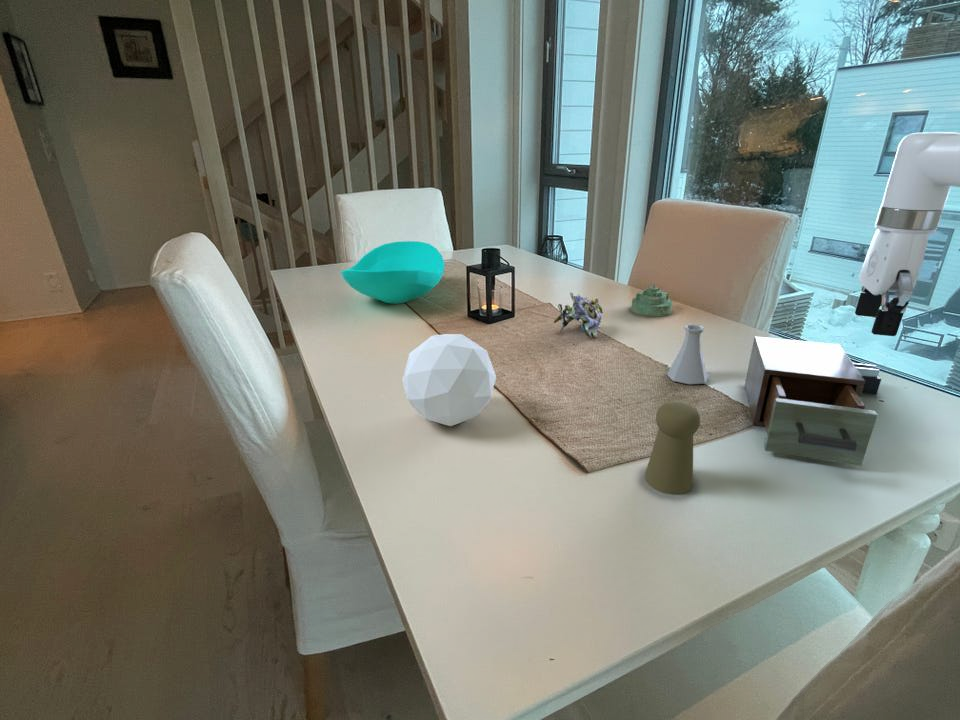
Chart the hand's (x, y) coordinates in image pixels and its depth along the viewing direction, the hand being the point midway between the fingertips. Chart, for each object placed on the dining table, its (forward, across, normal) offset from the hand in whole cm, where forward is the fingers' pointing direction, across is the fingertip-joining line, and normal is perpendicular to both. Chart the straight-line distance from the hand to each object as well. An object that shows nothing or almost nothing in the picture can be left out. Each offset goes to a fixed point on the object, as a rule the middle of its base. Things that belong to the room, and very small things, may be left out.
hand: (873, 324), depth 85 cm
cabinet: (+12, +12, -12) cm, 21 cm away
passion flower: (+13, -13, -52) cm, 55 cm away
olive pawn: (+12, +38, -30) cm, 50 cm away
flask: (+12, +4, -28) cm, 31 cm away
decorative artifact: (+13, -36, -37) cm, 53 cm away
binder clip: (+12, 0, 0) cm, 12 cm away
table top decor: (+14, -25, -106) cm, 110 cm away
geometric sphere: (+13, +32, -64) cm, 72 cm away
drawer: (+11, +24, -12) cm, 29 cm away
